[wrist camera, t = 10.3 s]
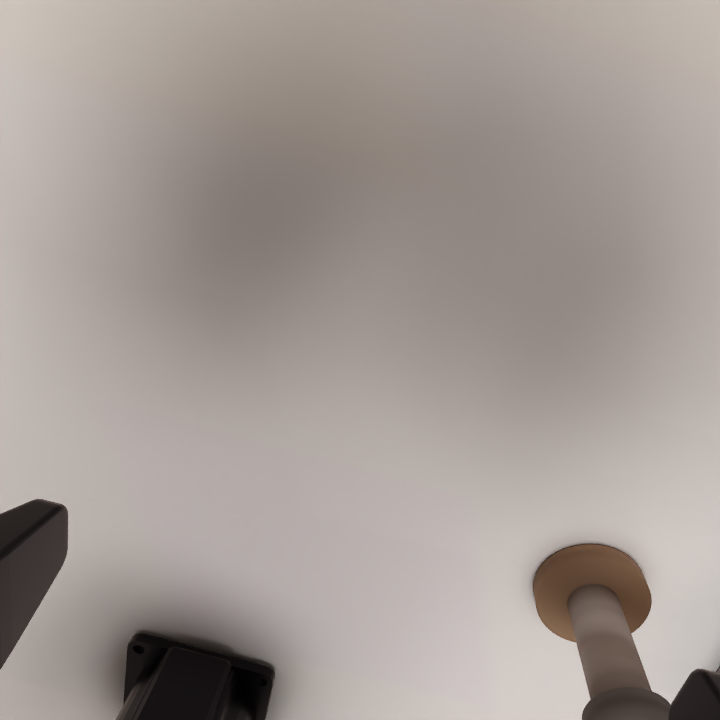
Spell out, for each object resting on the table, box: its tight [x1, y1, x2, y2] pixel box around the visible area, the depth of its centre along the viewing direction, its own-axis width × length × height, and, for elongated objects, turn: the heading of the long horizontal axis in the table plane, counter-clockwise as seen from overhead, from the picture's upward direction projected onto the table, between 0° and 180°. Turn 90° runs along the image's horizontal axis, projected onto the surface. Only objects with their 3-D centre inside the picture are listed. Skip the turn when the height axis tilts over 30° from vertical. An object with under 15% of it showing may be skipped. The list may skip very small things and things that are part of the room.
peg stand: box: [533, 544, 671, 720], centre depth 20 cm, size 4×4×6 cm
